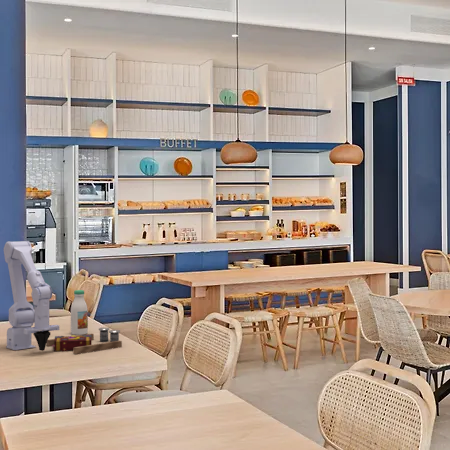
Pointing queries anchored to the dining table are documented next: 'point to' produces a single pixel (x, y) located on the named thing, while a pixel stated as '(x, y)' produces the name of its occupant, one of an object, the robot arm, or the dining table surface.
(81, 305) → the milk bottle
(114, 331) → the boss posts
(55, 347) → the decorative book
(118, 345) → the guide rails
